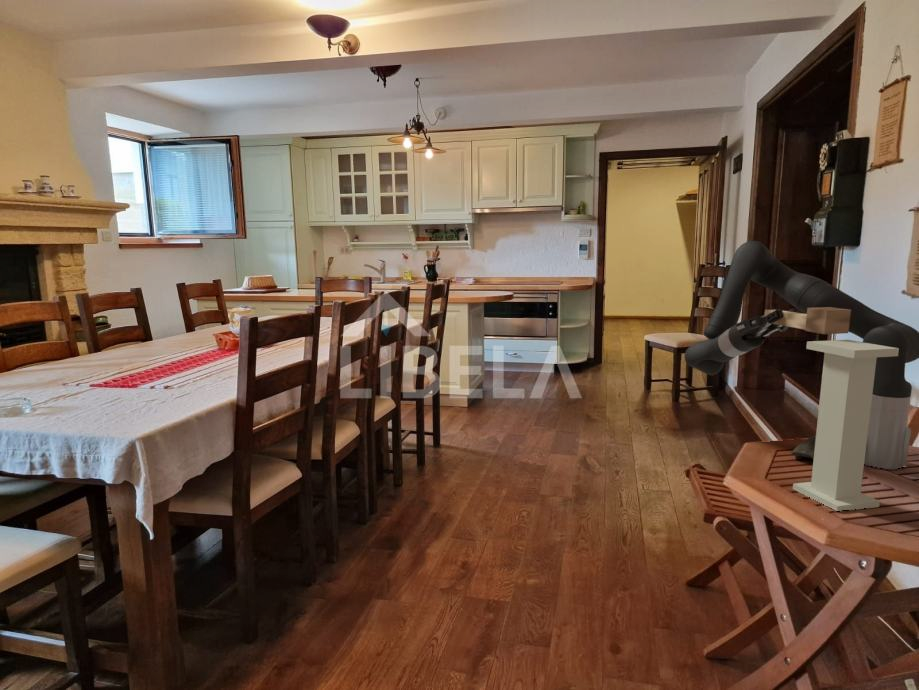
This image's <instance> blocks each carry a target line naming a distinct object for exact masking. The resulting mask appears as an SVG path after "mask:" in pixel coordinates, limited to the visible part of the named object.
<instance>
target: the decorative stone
mask: <svg viewBox="0 0 919 690" xmlns="http://www.w3.org/2000/svg"><path fill="white" fill-rule="evenodd" d="M815 441H816V435H812V436H809V437H808V438H806V439H805V440H803V441H802V442H801V443H799V444H798V445H797V446H795V447H794V448H793V449H792V450H791V452H790V455H791V456H794V457H797V456H798V457H805V458H809V459H812V460H814V451H815Z"/></svg>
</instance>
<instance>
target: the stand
mask: <svg viewBox="0 0 919 690" xmlns="http://www.w3.org/2000/svg"><path fill="white" fill-rule="evenodd" d="M805 347H806V350H811V351H816V352H821V353H824V355H823V366H822V374H821V382H820V383H821V385H820V394H819V401H818V402H819V404H818V413H817V422H816V423H817V424H816V433H815V436H816V441H815V451H814V459H812V460H813V461H812V462H813V463H812V471H811V472H812V473H811V481H806V482H795V483H793V484H792V490H794V491H796V492H797V493H800V494H801V495H803V494H804V495H803V496H805V497H807V498H809V497H810V499H811V500H813V499H814V500H813V501H815V500H816V501H815V502H817V501H818V502H817V503H819V502H820V503H819V504H821V503H822V504H821V505H823V504H824V505H823V506H824V507H826V506H828V507H830V508H832V509H834V510H836V511H840V512H843V511H842V510H849V511H856V510H865V509H864V508H866V509H874V508H879V507H880V502H881V501H880V500H879V499H876V498H873V497H872V496H869V495H867V494H866V493H863V492H862V483H863V476H864V474H863V473H864V469H865V468H864V467H865V465H864V460H865V452H866V443H867V435H868V426H869V418H870V409H871V401H872V392H873V384H874V376H875V367H876V359H877V357H892V356H898V352H899V348H894V347H888V346H882V345H876V344H870V343H864V342H863V341H857V340H853V339H852V340H851V339H835V340H813V341H806V346H805ZM828 507H827V508H828ZM830 508H829V509H830ZM832 509H831V510H832ZM855 509H856V510H855ZM834 510H833V511H834ZM836 511H835V512H836Z"/></svg>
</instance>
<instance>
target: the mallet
mask: <svg viewBox="0 0 919 690" xmlns="http://www.w3.org/2000/svg"><path fill="white" fill-rule="evenodd" d="M775 310H776V309H764V315H765V314H770V313H772V312H773V311H775ZM782 312H783V318H781V319H779V320H778V321H776V322H774V323H771V324H777V325H783V326H788V327H789V328H793V329H794V328H796V329H800V330H804V331H805V332H810V333H815V334H821V335H835V334H836V335H838V334H843V335H844V334H849V332H848V331H849V322H850V314H851V310H849V309H841V308H833V307H823V308H807V314H805V313H803V312H797V311H796V312H789V311H787V310H782Z"/></svg>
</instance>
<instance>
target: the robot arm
mask: <svg viewBox="0 0 919 690" xmlns="http://www.w3.org/2000/svg"><path fill="white" fill-rule="evenodd" d="M750 281H752V282H754V283H756V284H759V285H760V286H763V287H765V288H767V289H769V290H771V291H773V292H775V293H776V294H778V295H779V296H780V297H781V298H782V299H784V300H785V301H786V302H788V304H790V305H792V306H793V307H794V308H789V309H788V310H786V311H789V312H796V313H797V311H796V309H797V310H799V311H800V312H801V313H803V314H807V308H823V307H833V308H841V309H849V310H851V314H850V322H849V331H848V333H851V334H852V335H855V336H858V337H859V338H861V339H862V342H864V343H870V344H876V345H882V346H888V347H894V348H899V352H898V356H892V357H877V359H876V367H875V376H874V384H873V392H872V401H871V409H870V418H869V426H868V435H867V443H866V452H865V460H864V464H865V465H864V466H867V465H869V466H868V467H870V466H873V467H872V468H875V467H877V468H876V469H880V468H883V469H882V470H899V469H898V468H900V467H903V466H906V467H907V465H908V457H909V450H910V449H909V448H910V443H911V442H910V441H911V433H912V429H911V428H910V427H909V426H908V421H909V413H910V405H911V399H912V398H911V397H912V391H913V390H912V389H913V386H912V384H911V383H910V382H909V381H907V379H906V377H905V372H906V364H909V363H911V362H914V361H916V360H918V359H919V331H918V330H917V329H916V328H915V327H912V326H910V325H909V324H906V323H904V322H901V321H898V320H896V319H895V318H891V317H889V316H887V315H885V314H883V313H881V312H878V311H876V310H874V309H872V308H871V307H869V306H868V305H866V304H864V303H862V302H861V301H859V300H857V299H856V298H854V297H853V296H850V295H849V294H848V293H846V292H845V291H843V290H841V289H840V288H837V287H836V286H834V285H833V284H830V283H829V282H827V281H825V280H823V279H822V278H819V277H816V276H813V275H809V274H806V273H801V272H799V271H798V272H797V271H795V270H794V269H792V268H790V267H788V266H787V265H785V263H782V262H781V261H780V260H779V259H778V258H777V257H776V256H774V255H773V253H772V252H771V251H770V250H769V249H768V247H767V246H765V245H764V243H762V242H760V241H758V240H749V241H746V242H744V243H742V244H741V245H740V246H739V247H737V248H736V251H735V252H734V255H733V256H732V259H731V263H730V266H729V270H728V272H727V276H726V278H725V281H724V284H723V288H722V291H721V294H720V297H719V299H718V301H717V303H716V306H715V308H714V309H713V312H712V314H711V316H710V318H709V320H708V322H707V324H706V326H705V328H704V330H703V335H704V336H705V338H706V339H705V340H701V341H696V342H695V343H692V344H691V345H690V346H689V347H687V349H686V350H685V353H684V362H685V363H686V364H687V365H688V366H689V367H692V368H693V369H696V370H698V371H700V372H702V373H703V374H705V375H708V376H715V375H717V374H718V373H719V372H721V371H722V369H723V367H724V365H725V363H726V362H728V361H731V360H733V359H735V358H736V357H739V356H742V355H744V354H747V353H749V352H750V351H753V350H754V349H756V348H758V347H760V346H761V345H763V343H764V341H765V339H766V337H767V336H770V335H772V334H773V333H775V332H777V331H779V332H780V333H784V332H786V331H787V330H788V329H789V328H790V327H788V326H783V325H777V324H771V323H774V322H776V321H778V320H779V319H781V318H783V312H782V311H783V310H782V308H776V309H774V310H775V311H773V312H772V313H770V314H765V313H764V314H763V315H762V316H761V315H755V316H752V317H751V318H747V319H743V320H741V321H740V322H739V320H740V316H741V314H742V313H741V312H742V307H743V301H744V295H745V292H746V289H747V286H748V284H749V282H750ZM900 469H901V468H900Z"/></svg>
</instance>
